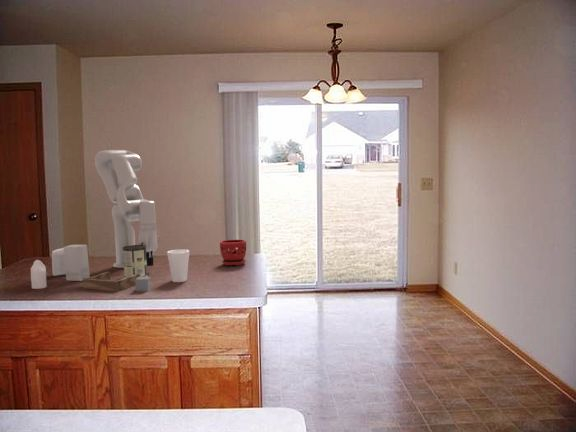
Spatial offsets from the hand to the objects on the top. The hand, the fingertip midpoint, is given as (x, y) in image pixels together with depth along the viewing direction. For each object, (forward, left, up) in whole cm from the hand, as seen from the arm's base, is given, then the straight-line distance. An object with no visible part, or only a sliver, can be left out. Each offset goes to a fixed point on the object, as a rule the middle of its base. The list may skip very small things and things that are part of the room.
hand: (149, 265), depth 274 cm
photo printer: (+15, -37, -3) cm, 40 cm away
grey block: (+32, +17, -3) cm, 36 cm away
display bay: (+29, 0, -3) cm, 29 cm away
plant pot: (-27, +31, -3) cm, 41 cm away
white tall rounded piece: (+40, -29, -3) cm, 49 cm away
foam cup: (+13, +23, -3) cm, 26 cm away
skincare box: (+23, -23, -3) cm, 32 cm away
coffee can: (+12, 0, -3) cm, 12 cm away
